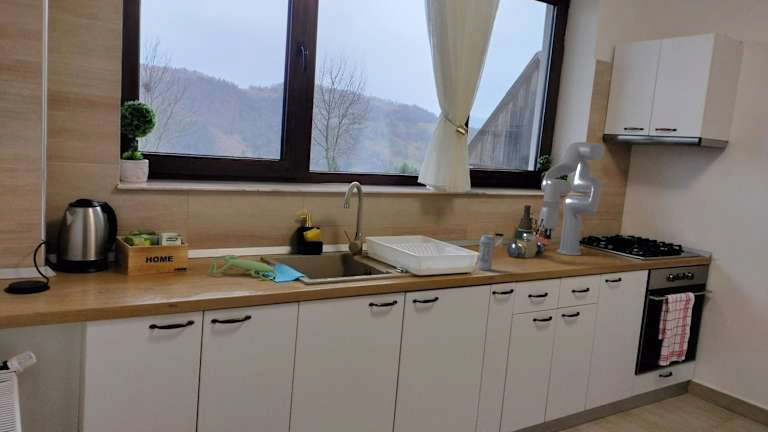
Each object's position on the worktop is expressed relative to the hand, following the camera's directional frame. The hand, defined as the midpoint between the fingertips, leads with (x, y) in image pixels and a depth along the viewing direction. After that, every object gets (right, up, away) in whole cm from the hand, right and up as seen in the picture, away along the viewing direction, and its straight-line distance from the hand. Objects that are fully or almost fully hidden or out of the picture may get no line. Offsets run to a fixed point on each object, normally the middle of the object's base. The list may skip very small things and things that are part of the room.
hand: (546, 242), depth 293 cm
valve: (-9, -8, +9) cm, 15 cm away
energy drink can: (-36, -11, -30) cm, 49 cm away
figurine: (-134, -9, -69) cm, 151 cm away
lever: (-5, 0, +2) cm, 5 cm away
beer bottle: (-5, -5, +30) cm, 30 cm away
